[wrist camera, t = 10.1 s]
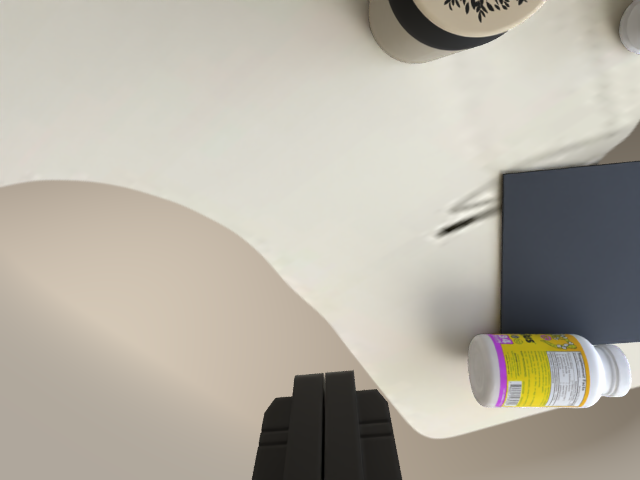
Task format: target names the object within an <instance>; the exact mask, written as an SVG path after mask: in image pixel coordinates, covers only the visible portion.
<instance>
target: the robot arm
mask: <svg viewBox="0 0 640 480" xmlns="http://www.w3.org/2000/svg"><path fill="white" fill-rule="evenodd" d="M252 480H402V477H401V471H400V466H399V460H398V455H397V450H396V444H395V439H394V434H393V429H392V423H391V418H390V412H389V407H388V402H387V401H386V400H385V399H384V398H383V396H382V395H381V394H380V393H379V392H378V390H377V389H374V390H362V391H356V388H355V379H354V371H342V372H330V373H325V378H324V374H323V373H321V374H320V373H319V374H309V375H296V376H295V378H294V387H293V396H292V397H280V398H275V399H274V401H273V402H272V403H271V405H270V406H269V407H268V409H267V410H266V412H265V413H264V418H263V424H262V433H261V435H260V440H259V447H258V450H257V455H256V460H255V466H254V471H253V476H252Z"/></svg>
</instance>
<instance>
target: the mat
mask: <svg viewBox="0 0 640 480" xmlns="http://www.w3.org/2000/svg"><path fill="white" fill-rule="evenodd" d="M501 334H575V335H579V336H581V337H583V338H585V339H586V340H588V341H589V342H590V343H591V344H592V345H598V344H616V343H629V342H640V161H634V162H623V163H613V164H602V165H592V166H581V167H571V168H561V169H550V170H540V171H530V172H520V173H509V174H503V205H502V271H501Z"/></svg>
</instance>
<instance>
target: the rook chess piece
mask: <svg viewBox="0 0 640 480" xmlns="http://www.w3.org/2000/svg"><path fill="white" fill-rule="evenodd" d="M619 34H620V38H621V41H622V44H623V45H624V46H625V47H626V48H627V49H628V50H629V51H631V52H634V53H636V54H640V0H634V2H633V3H632V4H631V5H630V6H629V7H628V8H627V9H626V10H625V12H624V14H623V16H622V18H621V20H620V28H619Z"/></svg>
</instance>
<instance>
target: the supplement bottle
mask: <svg viewBox="0 0 640 480" xmlns="http://www.w3.org/2000/svg"><path fill="white" fill-rule="evenodd" d="M468 371H469V379H470V384H471V388H472V392H473V394H474V397H475V399H476V400H477V402H478V403H479V404H480V405H482V406H484V407H496V408H586V407H589V406H592V405H593V404H594V403H596V402H597V401H598V399H599V398H600V396H601V395H603V396H606V397H621V396H623V395H625V394H626V393H627V392H628V390H629V389H630V385H631V370H630V366H629V363H628V360H627V358H626V356H625V354H624V353H623V352H622V350H621V349H620V348H618V347H617V346H615V345H609V344H598V345H596V346H594V347H593V345H592V344H591V343H590V342H589V341H588V340H586V339H585V338H583V337H581V336H579V335H575V334H479V335H476V336H475V337H474V338H473V339H472V341H471V343H470V346H469V351H468Z"/></svg>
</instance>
